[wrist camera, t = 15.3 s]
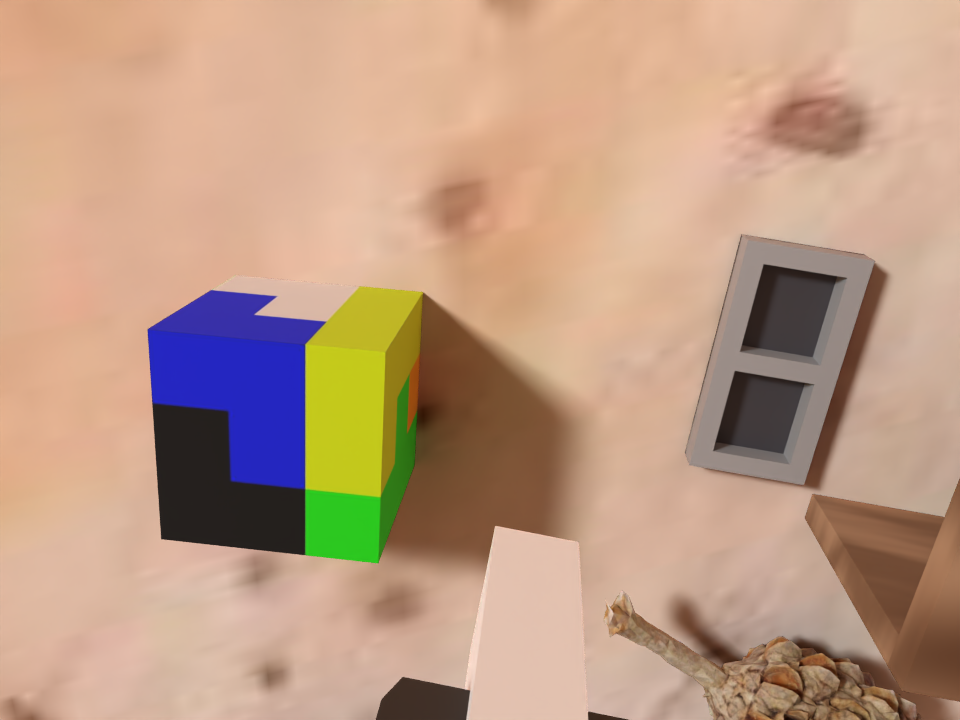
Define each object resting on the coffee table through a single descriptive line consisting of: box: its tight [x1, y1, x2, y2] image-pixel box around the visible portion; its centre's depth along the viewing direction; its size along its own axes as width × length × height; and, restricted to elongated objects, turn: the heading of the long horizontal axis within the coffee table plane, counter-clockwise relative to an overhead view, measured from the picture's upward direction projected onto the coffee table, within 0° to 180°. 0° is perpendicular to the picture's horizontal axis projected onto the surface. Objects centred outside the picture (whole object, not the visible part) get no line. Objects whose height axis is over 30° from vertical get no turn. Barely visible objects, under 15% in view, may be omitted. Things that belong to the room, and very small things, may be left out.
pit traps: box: [685, 234, 875, 485], centre depth 42 cm, size 12×6×2 cm, turn 171°
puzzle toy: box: [148, 275, 423, 563], centre depth 40 cm, size 10×10×10 cm
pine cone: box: [604, 591, 921, 720], centre depth 44 cm, size 22×10×10 cm, turn 61°
